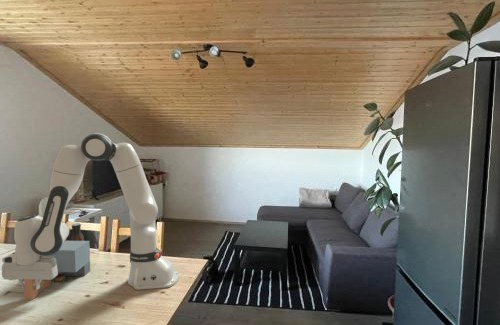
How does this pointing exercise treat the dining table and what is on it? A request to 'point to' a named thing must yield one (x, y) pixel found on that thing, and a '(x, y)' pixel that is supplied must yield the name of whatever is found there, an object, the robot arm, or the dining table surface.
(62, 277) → the brown round piece
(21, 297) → the dining table surface
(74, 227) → the sauce bottle
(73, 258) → the grey block
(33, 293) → the square headed mallet
